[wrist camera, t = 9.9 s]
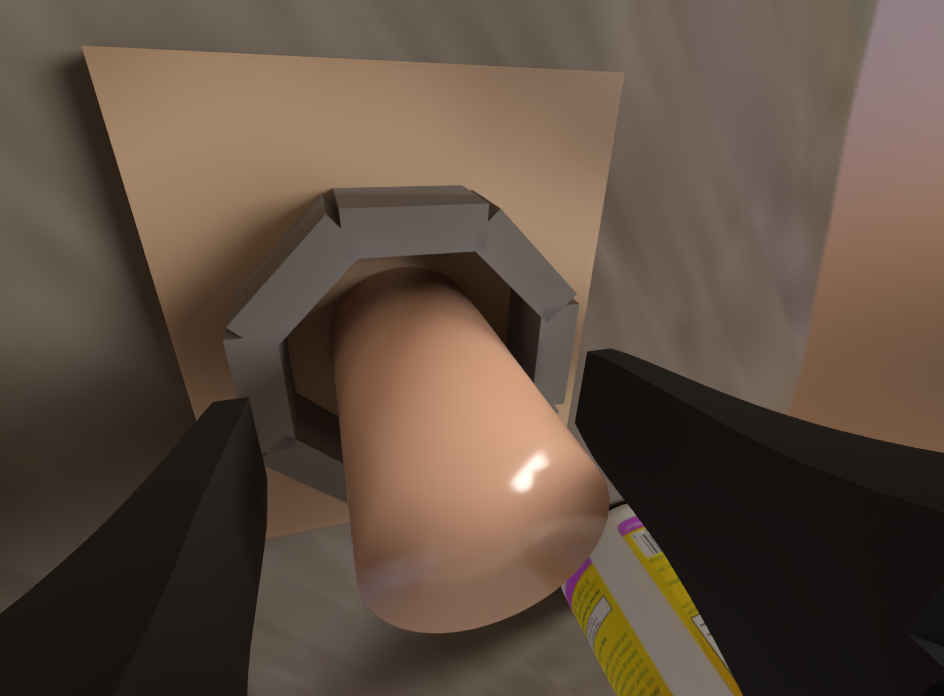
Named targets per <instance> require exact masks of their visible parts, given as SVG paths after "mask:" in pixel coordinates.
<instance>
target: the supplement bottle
mask: <svg viewBox="0 0 944 696" xmlns="http://www.w3.org/2000/svg"><path fill="white" fill-rule="evenodd" d="M561 588H562V591H563V593H564V595H565V597H566V599H567V601H568V603H569V605H570V607H571V609H572V611H573V613H574V615H575V617H576V619H577V621H578V623H579V625H580V626H581V628H582V630H583V632H584V634H585V636H586V638H587V640H588V642H589V644H590V646H591V647H592V649H593V651H594V653H595V655H596V657H597V659H598V661H599V663H600V665H601V667H602V669H603V670H604V672H605V674H606V676H607V678H608V680H609V682H610V684H611V686H612V688H613V690H614V691H615V693H616V695H617V696H743V695H742V693H741V691H740V689H739V687H738V685H737V683H736V681H735V679H734V678H733V676H732V674H731V672H730V670H729V668H728V666H727V664H726V662H725V660H724V658H723V656H722V654H721V652H720V650H719V649H718V647H717V645H716V643H715V641H714V639H713V637H712V636H711V634H710V632H709V630H708V628H707V627H706V625H705V623H704V621H703V620H702V618H701V616H700V614H699V612H698V611H697V609H696V607H695V605H694V604H693V602H692V600H691V598H690V596H689V595H688V593H687V591H686V590H685V588H684V586H683V585H682V583H681V581H680V580H679V578H678V576H677V575H676V573H675V572H674V570H673V568H672V567H671V565H670V563H669V562H668V560H667V558H666V557H665V555H664V554H663V552H662V551H661V549H660V548H659V546H658V545H657V543H656V542H655V540H654V539H653V538H652V536H651V535H650V534H649V532H648V531H647V530H646V528H645V527H644V525H643V524H642V523H641V521H640V520H639V519H638V517H637V516H636V515H635V513H634V512H633V511H632V509H631V508H630V507H629V505H628V504H624V505H621V506H618V507H616V508H614V509H612V510H610V511H609V513H608V519H607V522H606V526H605V529H604V531H603V534H602V536H601V538H600V540H599V542H598V544H597V545H596V547H595V548H594V550H593V552H592V553H591V555H590V556H589V557H588V559H587V560H586V561H585V562H584V564H583V565H582V566H581V567H580V568H579V569H578V570H577V571H576V573H575V574H574V575H572V576H571V577H570V578H569V579H568V580H567V581H566V582H565V583H564V584H563V585H561Z"/></svg>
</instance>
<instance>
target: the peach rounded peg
mask: <svg viewBox="0 0 944 696" xmlns="http://www.w3.org/2000/svg"><path fill="white" fill-rule="evenodd" d="M330 346H331V355H332V364H333V373H334V382H335V391H336V400H337V409H338V418H339V427H340V436H341V445H342V454H343V463H344V472H345V481H346V490H347V499H348V508H349V517H350V526H351V535H352V544H353V553H354V562H355V571H356V580H357V585H358V589H359V593H360V595H361V597H362V599H363V601H364V603H365V604H366V605H367V606H368V608H369V609H370V610H371V611H372V612H373V613H374V614H375V615H377V616H378V617H379V618H380V619H382V620H384V621H386V622H387V623H389V624H391V625H394V626H396V627H399V628H402V629H406V630H410V631H414V632H423V633H450V632H459V631H465V630H471V629H475V628H479V627H483V626H486V625H489V624H492V623H495V622H498V621H501V620H503V619H506V618H508V617H511V616H513V615H515V614H517V613H519V612H521V611H523V610H525V609H527V608H529V607H531V606H532V605H534V604H536V603H538V602H539V601H541V600H542V599H544V598H545V597H547V596H548V595H550V594H551V593H553V592H554V591H555V590H556V589H558V588H559V587H560V586H561V585H563V584H564V583H565V582H566V581H567V580H568V579H569V578H570V577H571V576H572V575H574V574H575V573H576V571H577V570H578V569H579V568H580V567H581V566H582V565H583V564H584V562H585V561H586V560H587V559H588V557H589V556H590V555H591V553H592V552H593V550H594V548H595V547H596V545H597V544H598V542H599V540H600V538H601V536H602V534H603V531H604V529H605V526H606V522H607V519H608V513H609V493H608V487H607V485H606V482H605V480H604V477H603V476H602V474H601V473H600V471H599V470H598V468H597V467H596V466H595V464H594V463H593V462H592V460H591V459H590V458H589V456H588V455H587V454H586V452H585V451H584V450H583V448H582V447H581V446H580V444H579V443H578V442H577V440H576V439H575V438H574V436H573V435H572V434H571V432H570V431H569V430H568V428H567V427H566V426H565V424H564V423H563V422H562V420H561V419H560V418H559V417H558V415H557V414H556V413H555V411H554V410H553V409H552V407H551V406H550V405H549V403H548V402H547V401H546V399H545V398H544V397H543V395H542V394H541V393H540V391H539V390H538V389H537V387H536V386H535V385H534V383H533V382H532V381H531V379H530V378H529V377H528V375H527V374H526V373H525V371H524V370H523V369H522V367H521V366H520V365H519V363H518V362H517V361H516V360H515V358H514V357H513V356H512V354H511V353H510V352H509V350H508V349H507V348H506V346H505V345H504V344H503V342H502V341H501V340H500V338H499V337H498V336H497V334H496V333H495V332H494V330H493V329H492V328H491V326H490V325H489V324H488V322H487V321H486V320H485V318H484V317H483V316H482V314H481V313H480V312H479V310H478V309H477V308H476V306H475V305H474V304H473V302H472V301H471V300H470V299H469V297H468V296H467V295H466V293H465V292H464V291H463V290H462V288H461V287H460V286H459V285H458V284H457V283H455V282H454V281H453V280H451V279H450V278H448V277H447V276H445V275H443V274H441V273H439V272H436V271H434V270H430V269H426V268H420V267H399V268H393V269H389V270H385V271H382V272H380V273H377V274H375V275H372V276H371V277H369V278H367V279H365V280H364V281H362V282H361V283H360V284H358V285H357V286H356V287H355V288H353V289H352V290H351V291H350V292H349V293H348V294H347V296H346V297H345V298H344V299H343V301H342V302H341V304H340V306H339V307H338V309H337V311H336V313H335V316H334V318H333V322H332V325H331V332H330Z"/></svg>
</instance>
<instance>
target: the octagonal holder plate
mask: <svg viewBox="0 0 944 696" xmlns="http://www.w3.org/2000/svg"><path fill="white" fill-rule="evenodd" d="M82 50H83V53H84V56H85V59H86V63H87V66H88V69H89V72H90V76H91V79H92V82H93V85H94V89H95V92H96V95H97V99H98V102H99V105H100V108H101V112H102V115H103V118H104V121H105V125H106V128H107V131H108V134H109V138H110V141H111V144H112V148H113V151H114V154H115V157H116V161H117V164H118V167H119V170H120V174H121V177H122V180H123V184H124V187H125V190H126V193H127V197H128V200H129V203H130V206H131V210H132V213H133V216H134V219H135V223H136V226H137V229H138V233H139V236H140V239H141V242H142V246H143V249H144V252H145V255H146V259H147V262H148V265H149V268H150V272H151V275H152V278H153V282H154V285H155V288H156V291H157V295H158V298H159V301H160V304H161V308H162V311H163V314H164V317H165V321H166V324H167V327H168V331H169V334H170V337H171V340H172V344H173V347H174V350H175V353H176V357H177V360H178V363H179V367H180V370H181V373H182V376H183V380H184V383H185V386H186V389H187V393H188V396H189V399H190V402H191V406H192V409H193V412H194V416H195V419H196V421H197V420H198V418H199V417H200V416H201V415H202V414H203V413H204V411H205V410H206V409H207V408H208V407H209V406H210V405H211V404H212V402H215V401H223V400H230V399H237V398H245V397H249V401H250V405H251V410H252V414H253V418H254V423H255V427H256V431H257V435H258V440H259V444H260V448H261V453H262V457H263V461H264V465H265V470H266V474H267V530H266V538H265V539H270V538H275V537H279V536H284V535H289V534H294V533H298V532H303V531H308V530H312V529H317V528H322V527H327V526H331V525H336V524H341V523H345V522H350V517H349V508H348V499H347V490H346V481H345V472H344V463H343V454H342V445H341V436H340V427H339V418H338V409H337V400H336V391H335V382H334V373H333V364H332V355H331V346H330V332H331V325H332V322H333V318H334V316H335V313H336V311H337V309H338V307H339V306H340V304H341V302H342V301H343V299H344V298H345V297H346V296H347V294H348V293H349V292H350V291H351V290H352V289H353V288H355V287H356V286H357V285H358V284H360V283H361V282H362V281H364V280H365V279H367V278H369V277H371V276H372V275H375V274H377V273H380V272H382V271H385V270H389V269H393V268H399V267H420V268H426V269H430V270H434V271H436V272H439V273H441V274H443V275H445V276H447V277H448V278H450V279H451V280H453V281H454V282H455V283H457V284H458V285H459V286H460V287H461V288H462V290H463V291H464V292H465V293H466V295H467V296H468V297H469V299H470V300H471V301H472V302H473V304H474V305H475V306H476V308H477V309H478V310H479V312H480V313H481V314H482V316H483V317H484V318H485V320H486V321H487V322H488V324H489V325H490V326H491V328H492V329H493V330H494V332H495V333H496V334H497V336H498V337H499V338H500V340H501V341H502V342H503V344H504V345H505V346H506V348H507V349H508V350H509V352H510V353H511V354H512V356H513V357H514V358H515V360H516V361H517V362H518V363H519V365H520V366H521V367H522V369H523V370H524V371H525V373H526V374H527V375H528V377H529V378H530V379H531V381H532V382H533V383H534V385H535V386H536V387H537V389H538V390H539V391H540V393H541V394H542V395H543V397H544V398H545V399H546V401H547V402H548V403H549V405H550V406H551V407H552V409H553V410H554V411H555V413H556V414H557V415H558V417H559V418H560V419H561V420H562V422H563V423H564V424H565V426H566V427H567V423H568V417H569V411H570V404H571V398H572V392H573V386H574V380H575V374H576V368H577V362H578V356H579V349H580V343H581V337H582V331H583V325H584V319H585V313H586V307H587V301H588V295H589V288H590V282H591V276H592V270H593V264H594V258H595V252H596V246H597V240H598V233H599V227H600V221H601V215H602V209H603V203H604V197H605V191H606V185H607V179H608V172H609V166H610V160H611V154H612V148H613V142H614V136H615V130H616V124H617V118H618V111H619V105H620V99H621V93H622V87H623V81H624V75H625V73H622V72H602V71H582V70H562V69H542V68H522V67H502V66H482V65H461V64H441V63H421V62H401V61H381V60H361V59H341V58H321V57H301V56H280V55H260V54H240V53H220V52H200V51H180V50H160V49H140V48H120V47H99V46H82Z"/></svg>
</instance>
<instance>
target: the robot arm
mask: <svg viewBox="0 0 944 696" xmlns="http://www.w3.org/2000/svg"><path fill="white" fill-rule="evenodd" d="M575 424H576V426H577V428H578V430H579V432H580V434H581V436H582V438H583V440H584V442H585V443H586V445H587V447H588V449H589V450H590V452H591V454H592V456H593V458H594V459H595V461H596V462H597V463H598V465H599V466H600V468H601V469H602V470H603V472H604V473H605V475H606V476H607V477H608V479H609V480H610V481H611V483H612V484H613V485H614V487H615V488H616V489H617V491H618V492H619V493H620V495H621V496H622V497H623V499H624V500H625V501H626V503H627V504H628V505H629V507H630V508H631V509H632V511H633V512H634V513H635V515H636V516H637V517H638V519H639V520H640V521H641V523H642V524H643V525H644V527H645V528H646V530H647V531H648V532H649V534H650V535H651V536H652V538H653V539H654V540H655V542H656V543H657V545H658V546H659V548H660V549H661V551H662V552H663V554H664V555H665V557H666V558H667V560H668V562H669V563H670V565H671V567H672V568H673V570H674V572H675V573H676V575H677V576H678V578H679V580H680V581H681V583H682V585H683V586H684V588H685V590H686V591H687V593H688V595H689V596H690V598H691V600H692V602H693V604H694V605H695V607H696V609H697V611H698V612H699V614H700V616H701V618H702V620H703V621H704V623H705V625H706V627H707V628H708V630H709V632H710V634H711V636H712V637H713V639H714V641H715V643H716V645H717V647H718V649H719V650H720V652H721V654H722V656H723V658H724V660H725V662H726V664H727V666H728V668H729V670H730V672H731V674H732V676H733V678H734V679H735V681H736V683H737V685H738V687H739V689H740V691H741V693H742V695H743V696H944V453H941V452H936V451H930V450H925V449H919V448H914V447H909V446H904V445H900V444H895V443H890V442H885V441H881V440H877V439H872V438H868V437H864V436H860V435H856V434H852V433H848V432H844V431H840V430H836V429H832V428H828V427H825V426H821V425H817V424H814V423H811V422H807V421H804V420H801V419H798V418H794V417H791V416H788V415H785V414H781V413H778V412H775V411H772V410H769V409H766V408H763V407H760V406H757V405H755V404H752V403H749V402H746V401H744V400H741V399H738V398H736V397H733V396H730V395H728V394H725V393H722V392H720V391H717V390H715V389H712V388H710V387H707V386H705V385H702V384H700V383H697V382H695V381H693V380H690V379H688V378H685V377H683V376H681V375H678V374H676V373H674V372H671V371H669V370H666V369H664V368H662V367H659V366H657V365H654V364H652V363H650V362H647V361H645V360H642V359H640V358H637V357H635V356H632V355H629V354H627V353H624V352H621V351H618V350H614V349H611V348H610V349H603V350H595V351H588V352H587V356H586V362H585V368H584V374H583V379H582V385H581V391H580V397H579V402H578V408H577V414H576V420H575ZM266 530H267V474H266V470H265V465H264V461H263V457H262V453H261V448H260V444H259V440H258V435H257V431H256V427H255V423H254V418H253V414H252V410H251V405H250V401H249V397H245V398H237V399H230V400H223V401H215V402H212V404H211V405H210V406H209V407H208V408H207V409H206V410H205V411H204V413H203V414H202V415H201V416H200V417H199V418H198V420H197V421H196V422H195V423H194V424H193V426H192V427H191V428H190V429H189V430H188V432H187V433H186V434H185V435H184V436H183V438H182V439H181V440H180V441H179V442H178V444H177V445H176V446H175V447H174V448H173V449H172V451H171V452H170V453H169V454H168V455H167V456H166V457H165V459H164V460H163V461H162V462H161V463H160V464H159V465H158V467H157V468H156V469H155V470H154V471H153V472H152V473H151V474H150V476H149V477H148V478H147V479H146V480H145V481H144V482H143V483H142V485H141V486H140V487H139V488H138V489H137V490H136V491H135V492H134V493H133V494H132V495H131V496H130V497H129V498H128V499H127V500H126V501H125V502H124V503H123V504H122V505H121V506H120V507H119V508H118V509H117V510H116V511H115V513H114V514H113V515H112V516H111V517H110V518H109V519H108V520H107V521H106V522H105V523H104V524H103V525H102V526H101V527H100V528H99V529H98V530H97V531H95V532H94V533H93V534H92V535H91V536H90V537H89V538H88V539H87V540H86V541H85V542H84V543H83V544H82V545H81V546H79V547H78V548H77V549H76V550H75V551H74V552H73V553H72V554H71V555H70V556H68V557H67V558H66V559H65V560H64V561H63V562H62V563H60V564H59V565H58V566H57V567H56V568H55V569H54V570H53V571H51V572H50V573H49V574H48V575H47V576H46V577H45V578H43V579H42V580H41V581H40V582H39V583H38V584H36V585H35V586H34V587H33V588H32V589H31V590H29V591H28V592H27V593H26V594H25V595H23V596H22V597H21V598H20V599H18V600H17V601H16V602H15V603H13V604H12V605H11V606H10V607H8V608H7V609H6V610H5V611H3V612H2V613H1V614H0V696H247V686H248V668H249V658H250V648H251V639H252V632H253V625H254V618H255V611H256V604H257V596H258V589H259V582H260V575H261V568H262V560H263V553H264V546H265V538H266Z"/></svg>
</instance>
